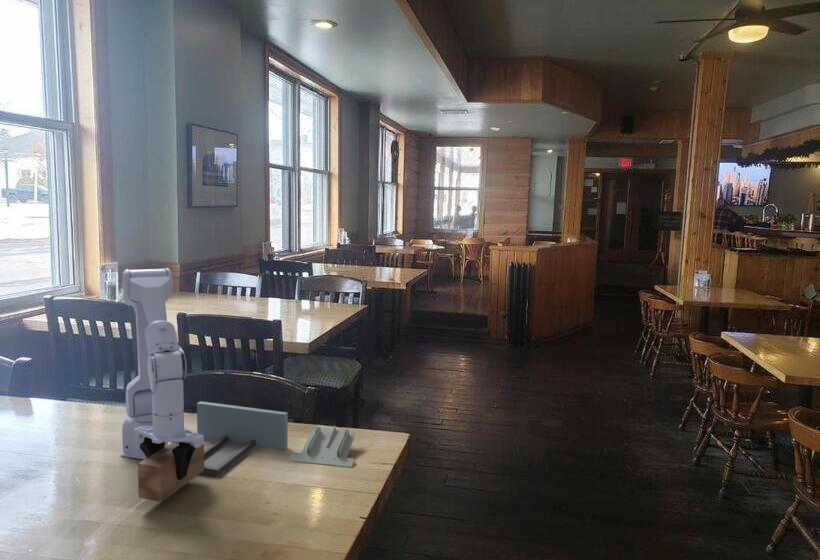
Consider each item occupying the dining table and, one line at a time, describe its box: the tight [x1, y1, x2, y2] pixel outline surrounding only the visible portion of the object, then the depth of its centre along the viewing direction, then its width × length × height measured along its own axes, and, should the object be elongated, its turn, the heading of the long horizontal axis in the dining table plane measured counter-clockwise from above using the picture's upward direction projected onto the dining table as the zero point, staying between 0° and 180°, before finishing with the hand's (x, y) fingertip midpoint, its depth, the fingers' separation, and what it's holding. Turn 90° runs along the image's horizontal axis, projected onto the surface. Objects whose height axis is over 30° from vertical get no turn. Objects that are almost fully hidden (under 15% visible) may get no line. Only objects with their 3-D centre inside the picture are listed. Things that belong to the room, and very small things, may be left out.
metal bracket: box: [288, 425, 357, 469], centre depth 138 cm, size 14×6×15 cm
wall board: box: [196, 401, 289, 477], centre depth 134 cm, size 24×18×9 cm
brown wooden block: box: [137, 442, 205, 503], centre depth 116 cm, size 5×14×7 cm, turn 166°
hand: (169, 475), depth 116 cm, fingers closed on brown wooden block, 5 cm apart
